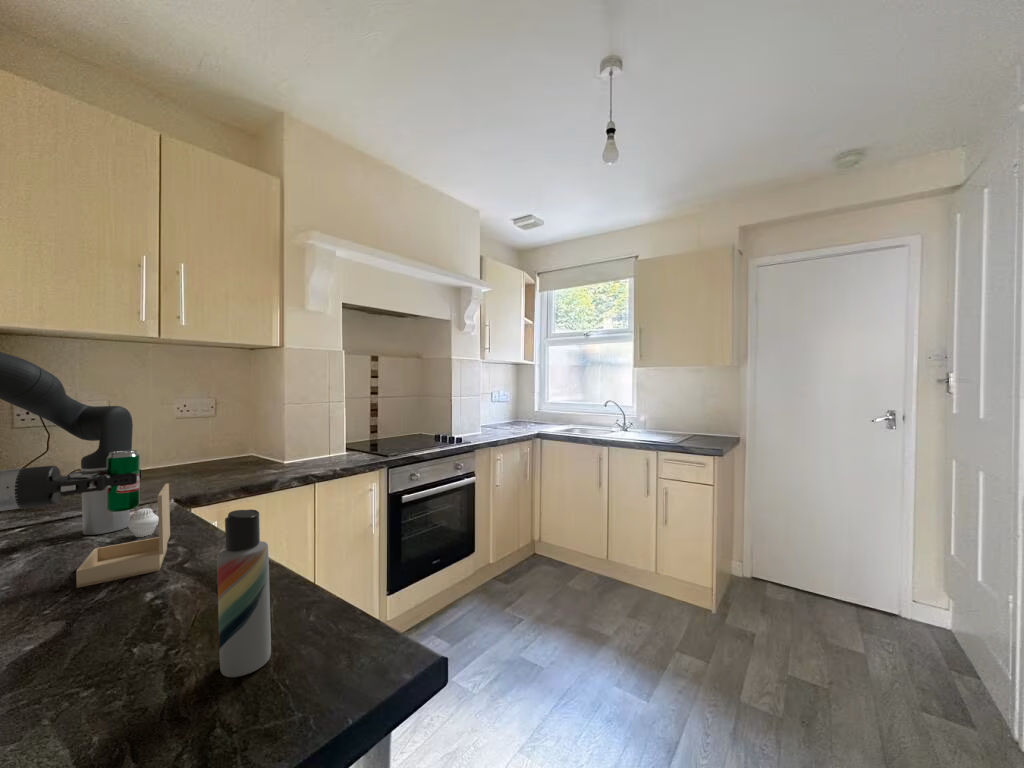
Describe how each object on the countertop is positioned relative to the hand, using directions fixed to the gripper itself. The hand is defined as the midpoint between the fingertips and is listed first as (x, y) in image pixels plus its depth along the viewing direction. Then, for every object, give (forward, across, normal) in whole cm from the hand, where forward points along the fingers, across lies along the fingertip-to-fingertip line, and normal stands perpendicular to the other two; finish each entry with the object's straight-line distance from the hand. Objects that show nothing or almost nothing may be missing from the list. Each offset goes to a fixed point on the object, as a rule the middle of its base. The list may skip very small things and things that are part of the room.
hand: (138, 476), depth 89 cm
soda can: (-2, 0, +7) cm, 7 cm away
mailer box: (-2, 0, +19) cm, 19 cm away
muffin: (-2, +24, +19) cm, 31 cm away
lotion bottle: (+17, -53, +19) cm, 59 cm away
